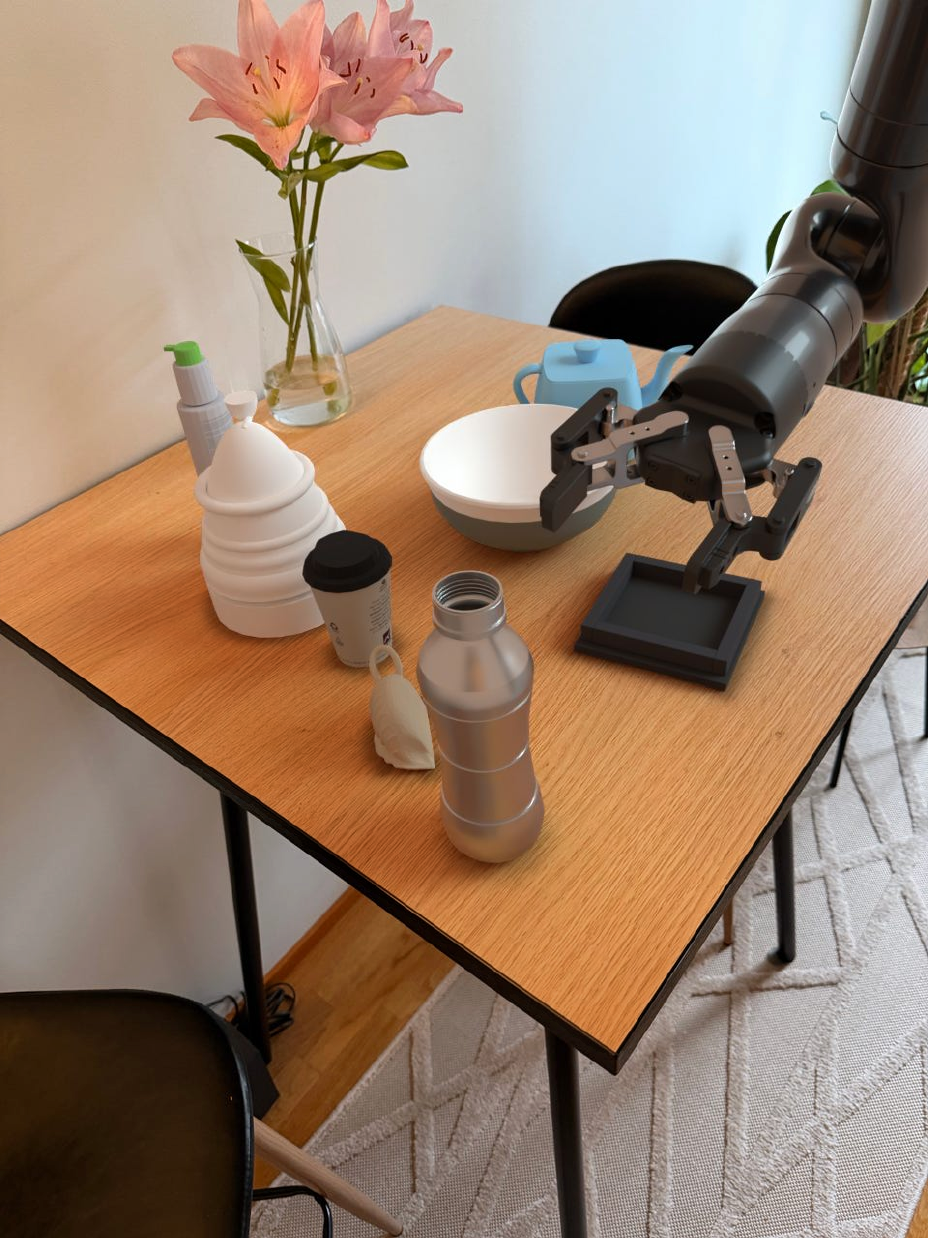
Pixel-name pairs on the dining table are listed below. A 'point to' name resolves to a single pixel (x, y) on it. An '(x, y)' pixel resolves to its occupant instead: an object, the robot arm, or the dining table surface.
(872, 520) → the dining table surface
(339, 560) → the coffee cup
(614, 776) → the dining table surface
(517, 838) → the silver metal bottle
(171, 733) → the dining table surface
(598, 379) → the teapot
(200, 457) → the bottle
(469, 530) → the bowl
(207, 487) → the honey pot
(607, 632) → the pad
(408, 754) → the decorative ornament
